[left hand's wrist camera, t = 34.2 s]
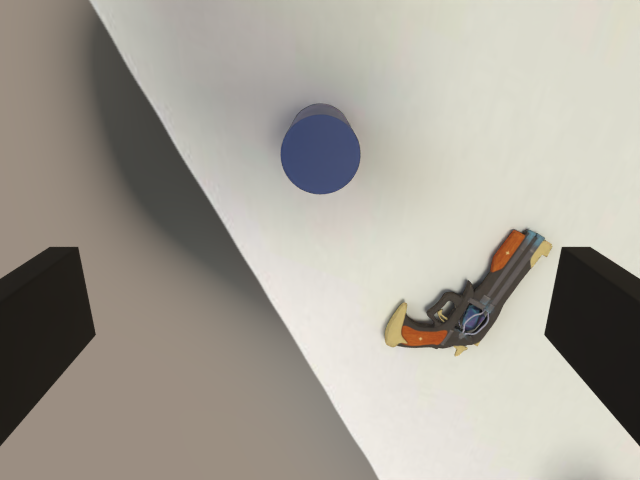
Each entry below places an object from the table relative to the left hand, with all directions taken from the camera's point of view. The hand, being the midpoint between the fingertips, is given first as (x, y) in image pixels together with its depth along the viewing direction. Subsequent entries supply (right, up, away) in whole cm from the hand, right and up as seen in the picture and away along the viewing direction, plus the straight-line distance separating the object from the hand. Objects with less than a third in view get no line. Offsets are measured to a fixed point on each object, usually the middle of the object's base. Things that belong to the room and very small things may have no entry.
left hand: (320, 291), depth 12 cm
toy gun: (+16, -4, +38) cm, 41 cm away
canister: (0, +12, +32) cm, 34 cm away
